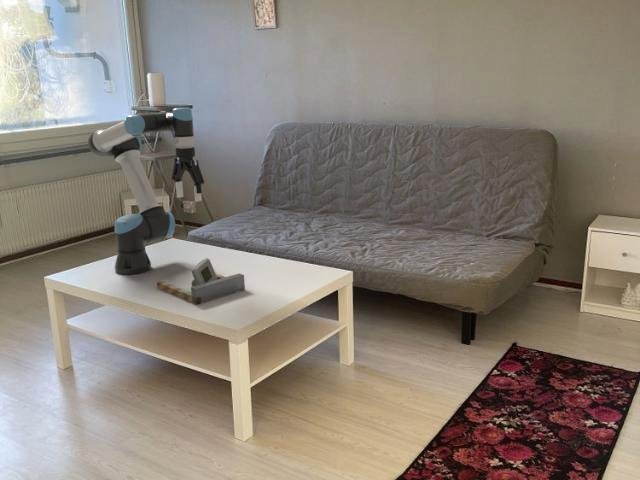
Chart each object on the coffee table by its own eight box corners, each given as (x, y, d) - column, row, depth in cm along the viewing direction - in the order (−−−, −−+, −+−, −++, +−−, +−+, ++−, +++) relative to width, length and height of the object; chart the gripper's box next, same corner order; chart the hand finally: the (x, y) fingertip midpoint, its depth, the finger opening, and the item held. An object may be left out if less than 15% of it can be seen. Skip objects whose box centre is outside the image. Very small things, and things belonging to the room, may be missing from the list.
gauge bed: (156, 287, 250) (156, 281, 250) (203, 274, 265) (203, 268, 264) (196, 304, 231) (196, 297, 230) (244, 289, 245) (244, 283, 245)
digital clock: (204, 296, 239) (202, 269, 236) (184, 294, 242) (181, 268, 239) (225, 283, 253) (223, 258, 251) (205, 281, 257) (203, 256, 254)
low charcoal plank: (192, 302, 233) (190, 287, 231) (240, 287, 247) (239, 273, 246) (196, 304, 231) (195, 289, 229) (244, 289, 245) (244, 274, 244)
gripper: (160, 146, 261) (165, 196, 266) (194, 150, 243) (198, 204, 248) (176, 144, 266) (180, 194, 271) (210, 148, 248) (214, 201, 253)
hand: (189, 199), depth 260 cm, fingers open, 13 cm apart
